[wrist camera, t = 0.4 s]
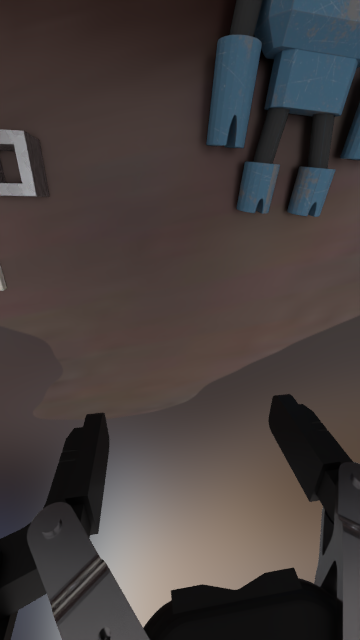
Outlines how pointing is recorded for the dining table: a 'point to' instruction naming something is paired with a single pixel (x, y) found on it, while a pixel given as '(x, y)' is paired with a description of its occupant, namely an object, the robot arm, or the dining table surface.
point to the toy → (287, 91)
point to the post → (2, 281)
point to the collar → (24, 165)
